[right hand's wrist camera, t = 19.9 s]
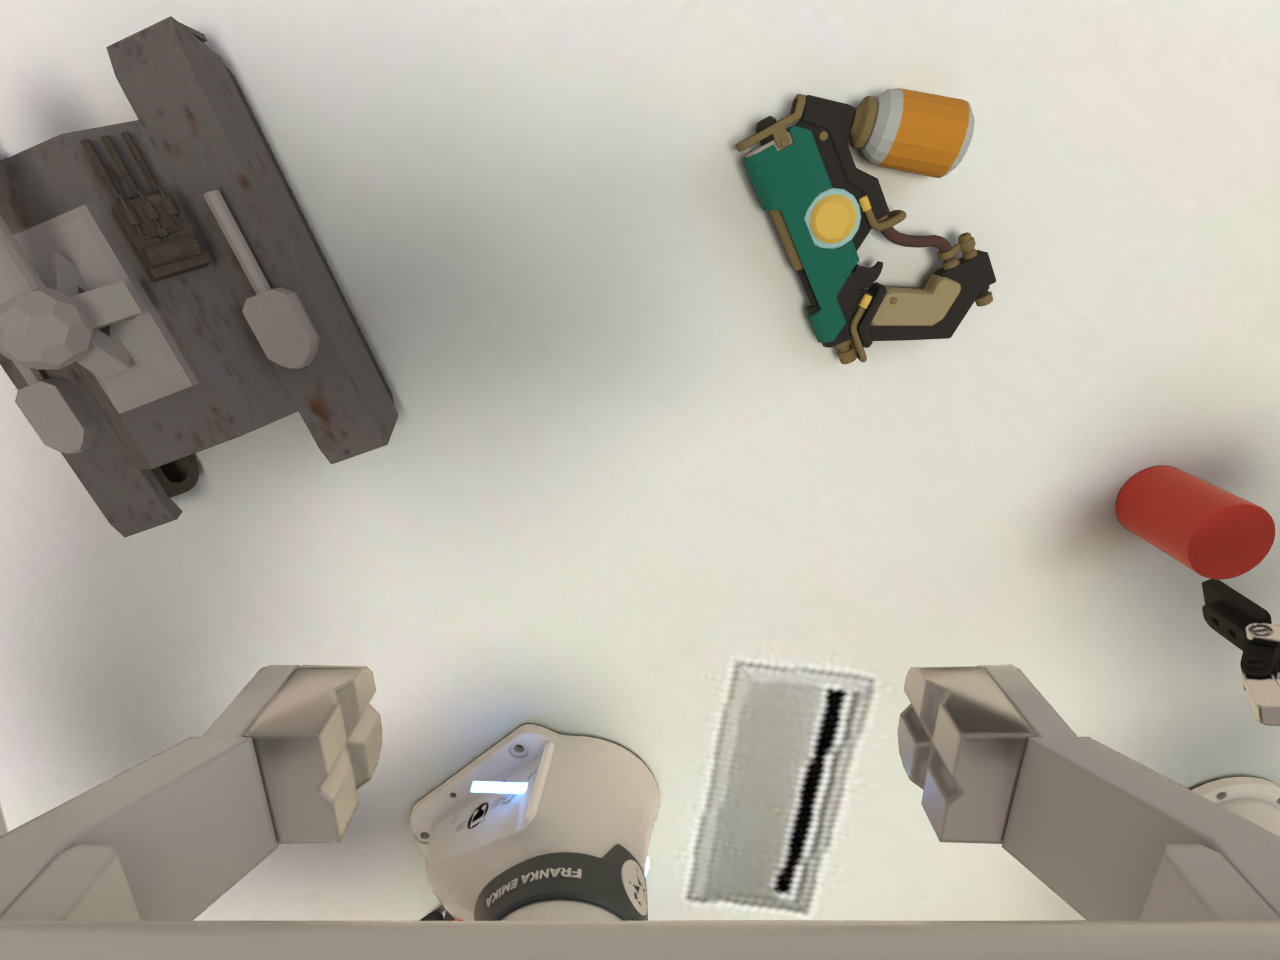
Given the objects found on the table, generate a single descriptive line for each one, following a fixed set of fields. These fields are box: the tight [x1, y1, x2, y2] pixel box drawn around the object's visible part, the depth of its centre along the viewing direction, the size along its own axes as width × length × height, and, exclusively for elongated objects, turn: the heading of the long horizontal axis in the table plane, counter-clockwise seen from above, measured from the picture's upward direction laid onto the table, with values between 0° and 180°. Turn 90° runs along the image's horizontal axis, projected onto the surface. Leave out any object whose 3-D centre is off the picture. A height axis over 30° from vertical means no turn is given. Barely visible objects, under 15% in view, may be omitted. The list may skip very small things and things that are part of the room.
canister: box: [1116, 466, 1275, 579], centre depth 49 cm, size 6×6×7 cm
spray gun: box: [736, 88, 996, 364], centre depth 44 cm, size 4×17×15 cm
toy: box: [0, 16, 398, 537], centre depth 40 cm, size 25×20×15 cm
